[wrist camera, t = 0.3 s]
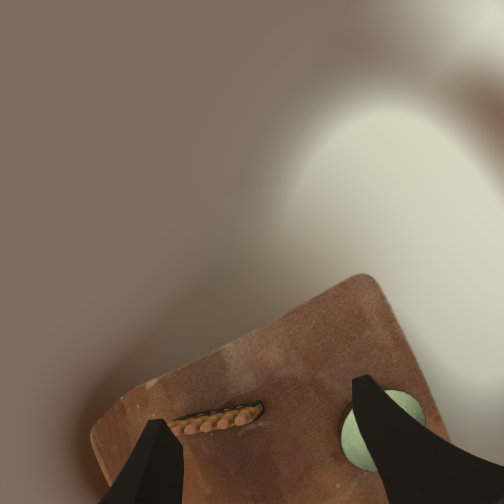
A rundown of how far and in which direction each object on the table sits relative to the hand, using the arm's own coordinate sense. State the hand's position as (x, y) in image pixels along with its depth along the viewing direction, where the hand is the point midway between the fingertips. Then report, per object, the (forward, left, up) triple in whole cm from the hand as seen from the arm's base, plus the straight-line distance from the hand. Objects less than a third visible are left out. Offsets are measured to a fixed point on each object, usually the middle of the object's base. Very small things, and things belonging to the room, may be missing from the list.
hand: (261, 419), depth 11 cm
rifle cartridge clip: (-3, +10, -30) cm, 32 cm away
